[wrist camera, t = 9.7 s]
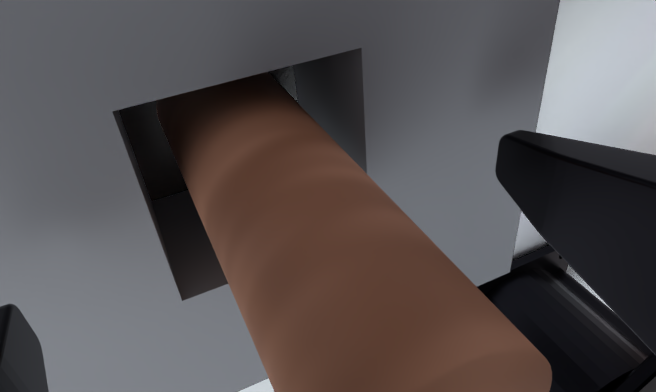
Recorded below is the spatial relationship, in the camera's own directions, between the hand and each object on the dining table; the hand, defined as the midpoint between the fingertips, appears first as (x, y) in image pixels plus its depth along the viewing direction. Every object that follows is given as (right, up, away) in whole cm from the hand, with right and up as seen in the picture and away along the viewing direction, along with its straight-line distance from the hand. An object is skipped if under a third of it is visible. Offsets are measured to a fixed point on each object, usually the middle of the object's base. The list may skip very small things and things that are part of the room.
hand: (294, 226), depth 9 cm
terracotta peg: (-2, +3, +4) cm, 6 cm away
